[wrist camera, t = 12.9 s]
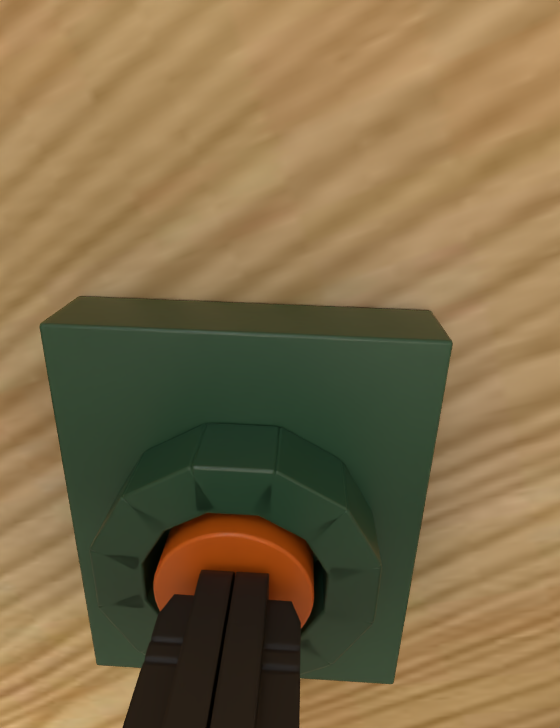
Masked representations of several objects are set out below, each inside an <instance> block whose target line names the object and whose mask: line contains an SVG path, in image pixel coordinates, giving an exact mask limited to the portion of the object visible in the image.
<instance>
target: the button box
mask: <svg viewBox="0 0 560 728" xmlns="http://www.w3.org/2000/svg"><path fill="white" fill-rule="evenodd" d="M40 332H41V338H42V344H43V350H44V356H45V362H46V368H47V374H48V380H49V385H50V391H51V397H52V403H53V409H54V415H55V421H56V427H57V433H58V439H59V444H60V450H61V456H62V462H63V468H64V474H65V480H66V486H67V492H68V498H69V504H70V509H71V515H72V521H73V527H74V533H75V539H76V545H77V551H78V557H79V563H80V568H81V574H82V580H83V586H84V592H85V598H86V604H87V610H88V616H89V622H90V627H91V633H92V639H93V645H94V651H95V657H96V663H97V665H103V666H119V667H134V668H141V667H142V664H143V663H144V660H145V655H146V652H147V648H148V645H149V642H150V641H151V636H152V633H153V629H154V626H155V623H156V620H157V617H158V614H159V612H160V610H159V608H158V606H157V603H156V601H155V596H154V590H153V581H154V575H155V572H156V569H157V566H158V563H159V560H160V558H161V555H162V552H163V549H164V546H165V543H166V540H167V537H168V535H169V532H170V529H171V528H173V527H175V526H178V525H180V524H182V523H185V522H187V521H190V520H192V519H194V518H197V517H199V516H202V515H204V514H206V513H216V514H234V515H252V516H260V517H262V518H264V519H266V520H268V521H270V522H272V523H274V524H276V525H277V526H279V527H281V528H283V529H285V530H287V531H289V532H291V533H293V534H295V535H297V536H299V537H301V538H303V539H304V540H305V541H306V542H307V544H308V545H309V547H310V548H311V550H312V551H313V559H314V603H313V608H312V611H311V614H310V616H309V618H308V619H307V621H306V623H305V624H304V626H303V627H302V628H301V648H300V678H304V679H319V680H335V681H350V682H366V683H381V684H393V683H394V678H395V672H396V667H397V661H398V655H399V649H400V644H401V638H402V632H403V626H404V621H405V615H406V609H407V603H408V598H409V592H410V586H411V580H412V575H413V569H414V563H415V557H416V552H417V546H418V540H419V534H420V529H421V523H422V517H423V511H424V506H425V500H426V494H427V488H428V483H429V477H430V471H431V465H432V460H433V454H434V448H435V442H436V437H437V431H438V425H439V419H440V414H441V408H442V402H443V396H444V391H445V385H446V379H447V373H448V368H449V362H450V356H451V350H452V345H453V343H452V340H451V339H450V338H449V336H448V335H447V333H446V332H445V330H444V329H443V328H442V326H441V325H440V323H439V322H438V320H437V319H436V318H435V316H434V315H433V313H432V312H431V311H429V310H404V309H380V308H355V307H331V306H306V305H282V304H257V303H233V302H208V301H184V300H159V299H135V298H110V297H86V296H79V297H77V298H76V299H74V300H73V301H72V302H70V303H69V304H67V305H66V306H64V307H63V308H62V309H60V310H59V311H57V312H56V313H55V314H53V315H52V316H50V317H49V318H47V319H46V320H45V321H43V322H42V323H40Z"/></svg>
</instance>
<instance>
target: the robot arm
mask: <svg viewBox="0 0 560 728" xmlns="http://www.w3.org/2000/svg"><path fill="white" fill-rule="evenodd" d="M300 648H301V622H300V619H299V617H298V615H297V613H296V610H295V608H294V606H293V603H292V601H280V600H269V573H253V572H236V575H235V572H234V571H217V570H201V572H200V574H199V578H198V582H197V586H196V590H195V594H194V595H181V594H174V595H173V596H172V598H171V599H170V600H169V601H168V603H167V604H166V605H165V606H164V608H163V609H162V610H161V611H160V612H159V614H158V617H157V620H156V623H155V626H154V629H153V633H152V636H151V641H150V642H149V645H148V648H147V652H146V655H145V660H144V663H143V664H142V667H141V671H140V674H139V677H138V680H137V683H136V687H135V690H134V693H133V696H132V699H131V702H130V706H129V709H128V712H127V715H126V718H125V721H124V725H123V728H299V711H300Z"/></svg>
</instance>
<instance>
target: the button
mask: <svg viewBox="0 0 560 728" xmlns="http://www.w3.org/2000/svg"><path fill="white" fill-rule="evenodd" d="M201 570H217V571H234V572H235V575H236V572H253V573H269V600H280V601H292V603H293V606H294V608H295V610H296V613H297V615H298V617H299V619H300V622H301V628H302V627H303V626H304V624H305V623H306V621H307V619H308V618H309V616H310V614H311V611H312V608H313V603H314V559H313V551H312V550H311V548H310V547H309V545H308V544H307V542H306V541H305V540H304V539H303V538H301V537H299V536H297V535H295V534H293V533H291V532H289V531H287V530H285V529H283V528H281V527H279V526H277V525H276V524H274V523H272V522H270V521H268V520H266V519H264V518H262V517H260V516H252V515H234V514H216V513H206V514H204V515H202V516H199V517H197V518H194V519H192V520H190V521H187V522H185V523H182V524H180V525H178V526H175V527H173V528H171V529H170V532H169V535H168V537H167V540H166V543H165V546H164V549H163V552H162V555H161V558H160V560H159V563H158V566H157V569H156V572H155V575H154V581H153V590H154V596H155V601H156V603H157V606H158V608H159V610H160V611H161V610H162V609H163V608H164V606H165V605H166V604H167V603H168V601H169V600H170V599H171V598H172V596H173V595H174V594H181V595H194V594H195V590H196V586H197V582H198V578H199V574H200V572H201Z"/></svg>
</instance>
